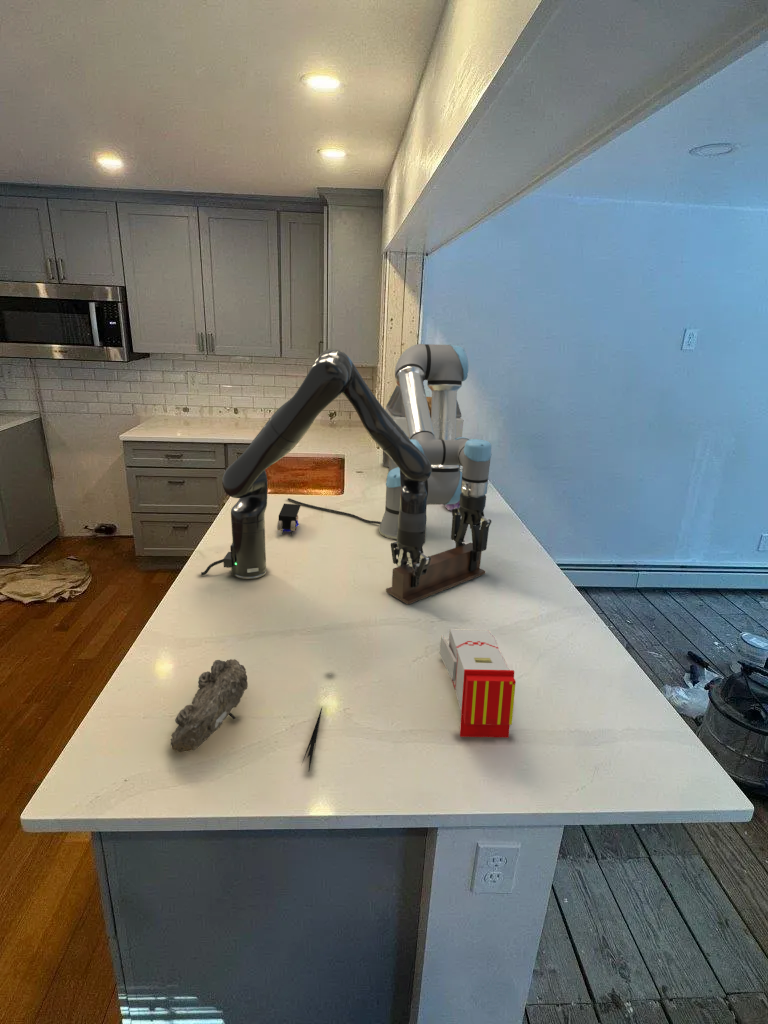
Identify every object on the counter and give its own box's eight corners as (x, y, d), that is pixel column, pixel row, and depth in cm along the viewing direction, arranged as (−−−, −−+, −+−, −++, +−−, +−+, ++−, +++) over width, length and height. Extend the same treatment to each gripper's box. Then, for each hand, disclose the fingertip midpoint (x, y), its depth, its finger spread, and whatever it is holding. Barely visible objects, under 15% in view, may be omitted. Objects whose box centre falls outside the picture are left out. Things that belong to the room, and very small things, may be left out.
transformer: (381, 463, 289) (385, 382, 275) (444, 464, 292) (450, 384, 279) (389, 482, 257) (393, 392, 243) (459, 483, 261) (467, 394, 247)
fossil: (195, 660, 117) (247, 628, 112) (227, 691, 120) (279, 661, 115) (146, 746, 98) (206, 711, 93) (185, 779, 101) (245, 748, 96)
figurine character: (296, 541, 193) (301, 521, 206) (295, 521, 189) (301, 502, 203) (276, 540, 193) (283, 520, 206) (275, 520, 189) (282, 501, 203)
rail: (407, 604, 152) (409, 577, 149) (386, 591, 158) (387, 565, 155) (485, 573, 172) (488, 549, 169) (463, 563, 178) (465, 539, 175)
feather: (331, 679, 122) (336, 673, 122) (307, 777, 96) (313, 769, 95) (324, 675, 122) (329, 669, 121) (298, 772, 95) (304, 764, 95)
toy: (489, 613, 130) (525, 677, 101) (485, 667, 133) (518, 744, 104) (437, 612, 130) (457, 676, 101) (434, 666, 133) (453, 743, 103)
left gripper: (383, 520, 153) (381, 577, 159) (420, 537, 143) (416, 597, 149) (404, 515, 158) (400, 570, 163) (441, 531, 148) (436, 589, 153)
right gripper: (442, 488, 168) (436, 559, 175) (488, 504, 155) (480, 580, 163) (459, 483, 172) (452, 554, 180) (505, 499, 160) (496, 574, 168)
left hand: (408, 583), depth 156 cm, fingers closed on rail, 4 cm apart
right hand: (465, 566), depth 172 cm, fingers closed on rail, 4 cm apart
